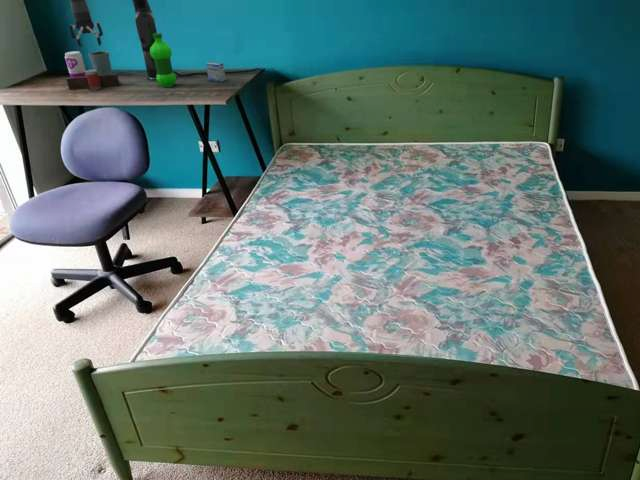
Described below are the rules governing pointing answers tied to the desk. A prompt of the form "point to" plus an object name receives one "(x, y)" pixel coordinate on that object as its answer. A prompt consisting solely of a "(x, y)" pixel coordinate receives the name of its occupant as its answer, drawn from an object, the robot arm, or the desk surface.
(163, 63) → the plastic bottle
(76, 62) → the supplement can
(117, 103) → the desk surface
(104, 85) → the wooden wall
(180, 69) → the desk surface
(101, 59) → the grey cup
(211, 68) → the medicine box
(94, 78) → the tin can
